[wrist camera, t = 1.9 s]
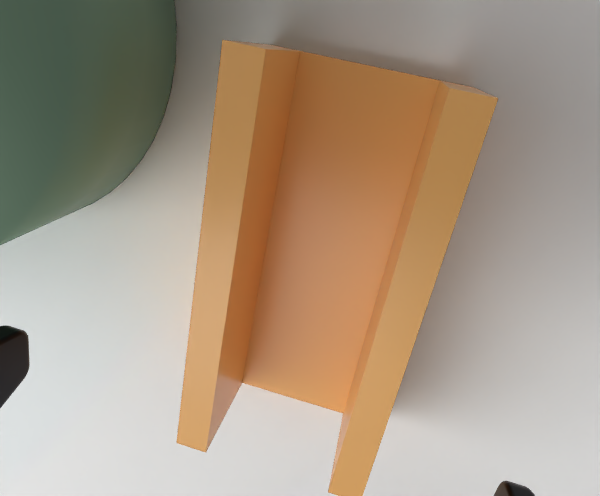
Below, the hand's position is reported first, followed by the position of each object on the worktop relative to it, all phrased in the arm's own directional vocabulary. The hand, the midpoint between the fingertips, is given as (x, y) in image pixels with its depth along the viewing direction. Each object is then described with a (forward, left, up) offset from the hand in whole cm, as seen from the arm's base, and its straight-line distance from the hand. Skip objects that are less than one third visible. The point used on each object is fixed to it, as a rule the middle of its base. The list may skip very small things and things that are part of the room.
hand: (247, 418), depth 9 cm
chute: (0, 0, -9) cm, 9 cm away
